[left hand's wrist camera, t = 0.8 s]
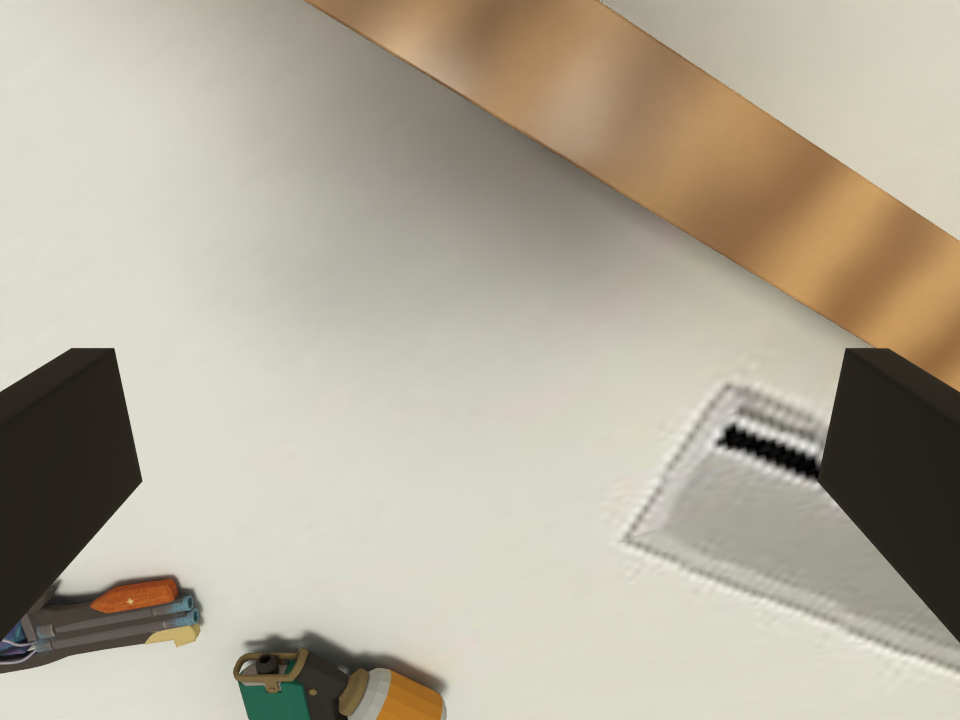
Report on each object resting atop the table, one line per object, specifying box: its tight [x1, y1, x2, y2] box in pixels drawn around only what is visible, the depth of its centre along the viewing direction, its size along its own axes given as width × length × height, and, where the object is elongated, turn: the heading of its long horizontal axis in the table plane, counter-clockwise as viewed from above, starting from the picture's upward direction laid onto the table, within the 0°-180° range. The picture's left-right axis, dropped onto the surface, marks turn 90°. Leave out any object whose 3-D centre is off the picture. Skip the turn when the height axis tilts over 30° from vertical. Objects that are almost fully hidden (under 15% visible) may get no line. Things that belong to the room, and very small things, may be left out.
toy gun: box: [0, 579, 201, 674], centre depth 41 cm, size 3×19×10 cm
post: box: [304, 0, 960, 392], centre depth 30 cm, size 72×5×8 cm, turn 60°
